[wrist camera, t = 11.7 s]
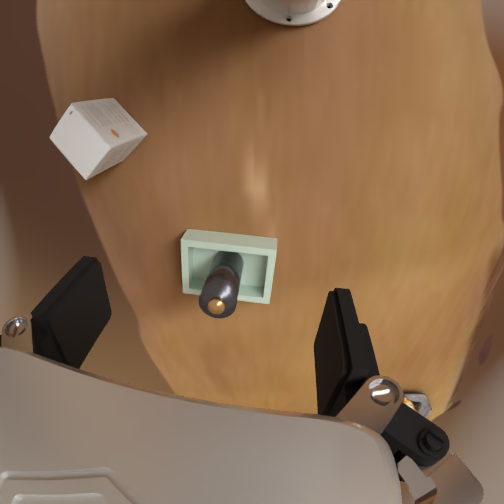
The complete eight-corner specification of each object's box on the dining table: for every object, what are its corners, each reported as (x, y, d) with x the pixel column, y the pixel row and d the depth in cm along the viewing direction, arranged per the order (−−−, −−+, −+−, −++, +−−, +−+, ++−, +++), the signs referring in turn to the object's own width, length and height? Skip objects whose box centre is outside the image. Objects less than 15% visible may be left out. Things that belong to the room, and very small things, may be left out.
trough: (187, 228, 44) (180, 239, 41) (277, 238, 43) (276, 250, 40) (188, 280, 48) (183, 292, 45) (270, 290, 48) (269, 303, 45)
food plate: (327, 411, 63) (328, 423, 60) (419, 374, 56) (424, 386, 53) (358, 442, 73) (360, 452, 70) (432, 413, 65) (435, 423, 62)
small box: (92, 124, 37) (46, 137, 28) (114, 96, 35) (70, 101, 26) (124, 161, 40) (84, 182, 31) (149, 134, 38) (111, 148, 29)
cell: (212, 248, 44) (195, 290, 35) (243, 250, 44) (234, 293, 34) (213, 275, 46) (198, 320, 37) (243, 276, 46) (235, 323, 36)
